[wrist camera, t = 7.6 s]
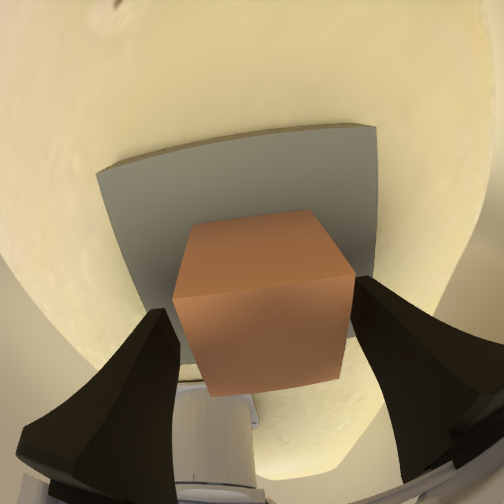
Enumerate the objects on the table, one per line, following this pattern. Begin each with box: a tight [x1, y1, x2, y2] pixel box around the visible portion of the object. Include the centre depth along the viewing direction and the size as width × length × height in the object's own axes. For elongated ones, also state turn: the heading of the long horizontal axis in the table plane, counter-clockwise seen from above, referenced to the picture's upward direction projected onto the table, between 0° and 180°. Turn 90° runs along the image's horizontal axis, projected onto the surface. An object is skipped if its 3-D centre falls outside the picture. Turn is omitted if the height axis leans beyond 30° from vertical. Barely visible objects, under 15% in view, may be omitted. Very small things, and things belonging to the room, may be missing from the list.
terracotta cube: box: [172, 209, 356, 397], centre depth 11 cm, size 5×5×5 cm
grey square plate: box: [96, 123, 378, 365], centre depth 14 cm, size 12×12×3 cm
